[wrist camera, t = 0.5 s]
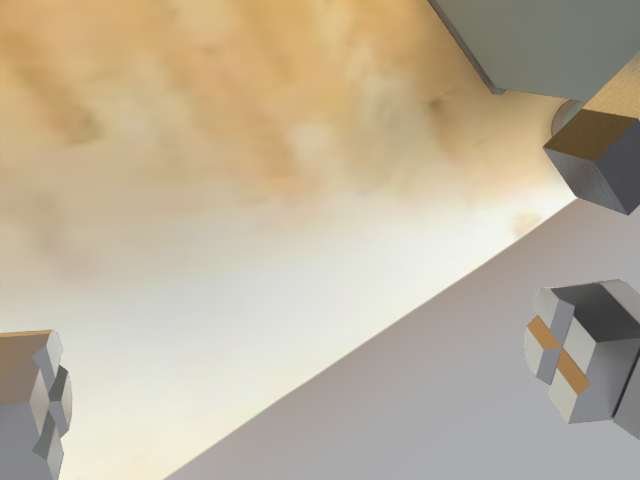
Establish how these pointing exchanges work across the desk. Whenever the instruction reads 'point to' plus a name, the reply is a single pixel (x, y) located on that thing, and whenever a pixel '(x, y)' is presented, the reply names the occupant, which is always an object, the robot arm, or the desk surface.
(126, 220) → the desk surface
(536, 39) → the press column
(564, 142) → the lever bar
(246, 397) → the desk surface
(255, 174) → the desk surface
